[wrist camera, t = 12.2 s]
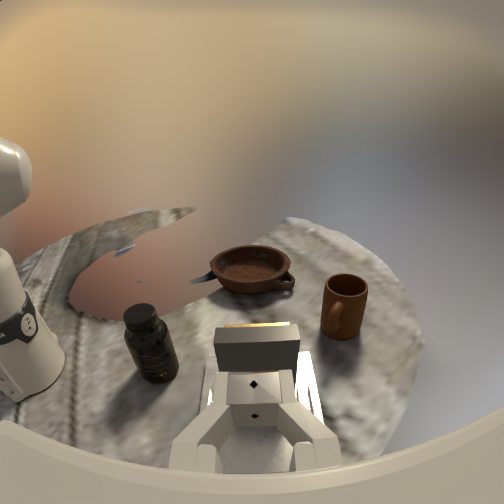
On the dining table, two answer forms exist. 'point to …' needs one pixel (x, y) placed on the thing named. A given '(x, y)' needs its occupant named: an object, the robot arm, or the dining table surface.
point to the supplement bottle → (150, 344)
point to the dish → (253, 269)
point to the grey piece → (267, 437)
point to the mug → (343, 305)
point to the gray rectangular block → (257, 348)
